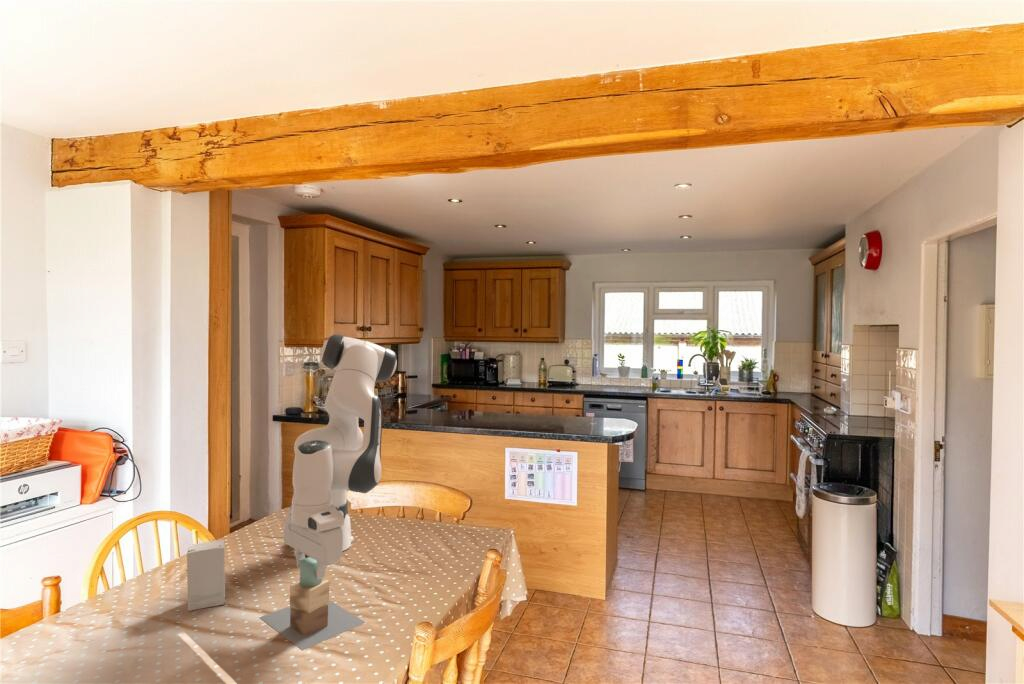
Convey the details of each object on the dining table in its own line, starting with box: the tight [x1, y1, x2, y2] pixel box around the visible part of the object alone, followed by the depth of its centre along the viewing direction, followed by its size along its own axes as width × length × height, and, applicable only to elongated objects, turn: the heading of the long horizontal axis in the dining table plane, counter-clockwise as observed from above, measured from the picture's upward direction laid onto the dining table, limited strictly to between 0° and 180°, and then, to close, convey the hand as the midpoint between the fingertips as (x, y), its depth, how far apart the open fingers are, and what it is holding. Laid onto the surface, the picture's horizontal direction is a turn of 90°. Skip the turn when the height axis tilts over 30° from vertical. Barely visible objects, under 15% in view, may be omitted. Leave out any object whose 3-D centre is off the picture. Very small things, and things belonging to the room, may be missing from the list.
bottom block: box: [290, 603, 328, 636], centre depth 127 cm, size 6×6×5 cm
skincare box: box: [186, 539, 226, 612], centre depth 138 cm, size 8×6×15 cm
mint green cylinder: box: [299, 556, 323, 587], centre depth 127 cm, size 5×5×5 cm
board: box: [258, 599, 367, 651], centre depth 130 cm, size 20×16×1 cm
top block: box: [289, 578, 330, 613], centre depth 127 cm, size 6×6×5 cm
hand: (310, 572), depth 127 cm, fingers open, 6 cm apart
